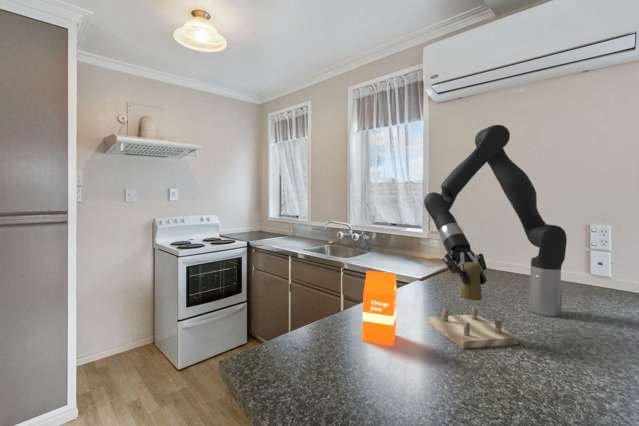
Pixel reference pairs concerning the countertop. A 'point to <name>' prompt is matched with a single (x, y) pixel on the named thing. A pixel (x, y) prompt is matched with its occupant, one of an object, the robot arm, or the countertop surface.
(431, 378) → the countertop surface
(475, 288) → the cork
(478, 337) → the peg board
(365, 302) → the orange juice
